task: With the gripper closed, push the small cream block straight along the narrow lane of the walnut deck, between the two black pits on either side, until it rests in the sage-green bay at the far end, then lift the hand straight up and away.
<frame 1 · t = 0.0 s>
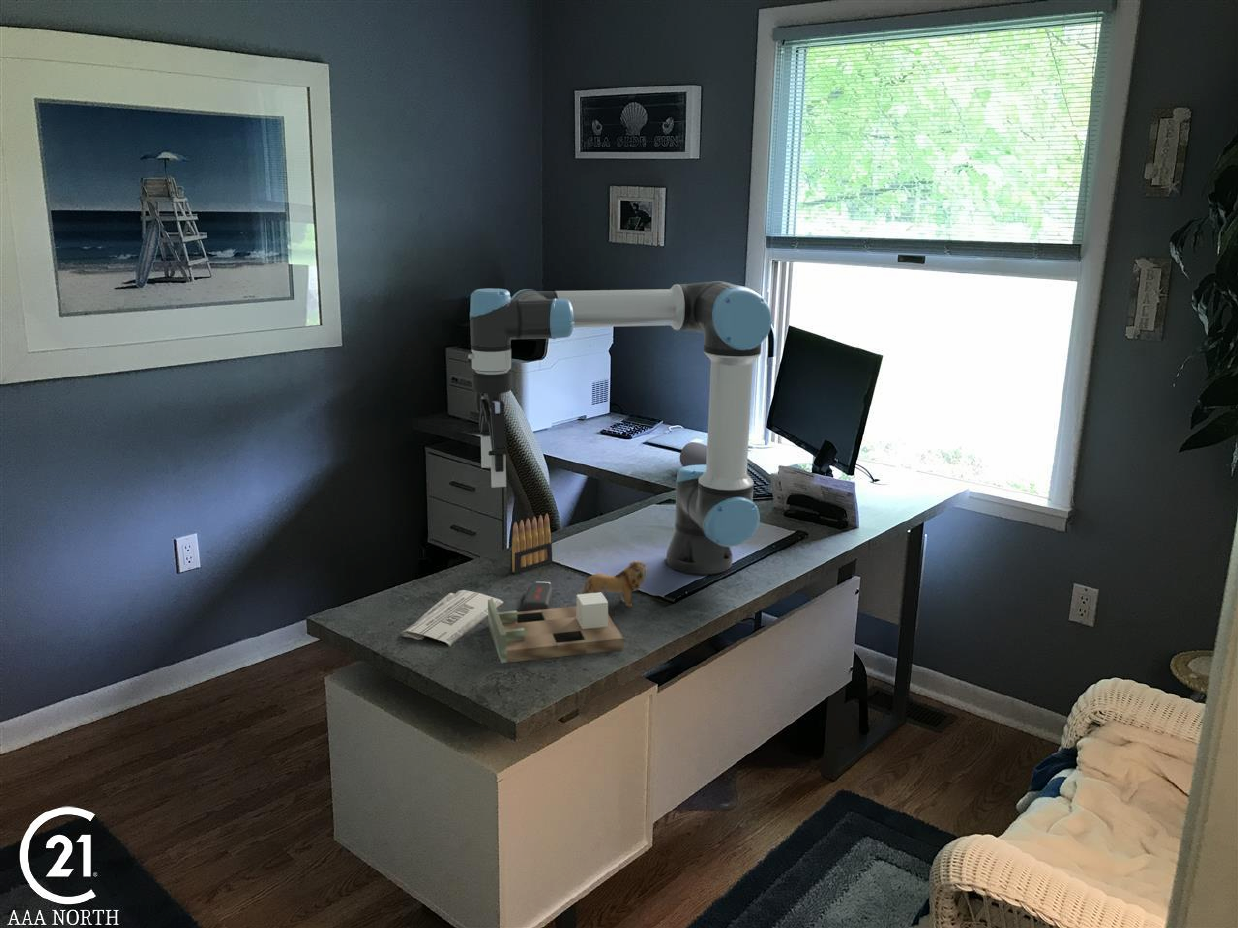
hand: (493, 476, 200), 28 cm above the table, tool pointing down, fingers open, 13 cm apart
cream block: (591, 622, 196), point 2 cm above the table, touching trap deck
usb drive: (539, 602, 212), on the table
trap deck: (554, 637, 195), on the table
ammunition clip: (531, 568, 229), on the table
grey long tapered piece: (712, 483, 293), on the table
lion figurine: (613, 603, 211), on the table
newspaper: (449, 623, 202), on the table
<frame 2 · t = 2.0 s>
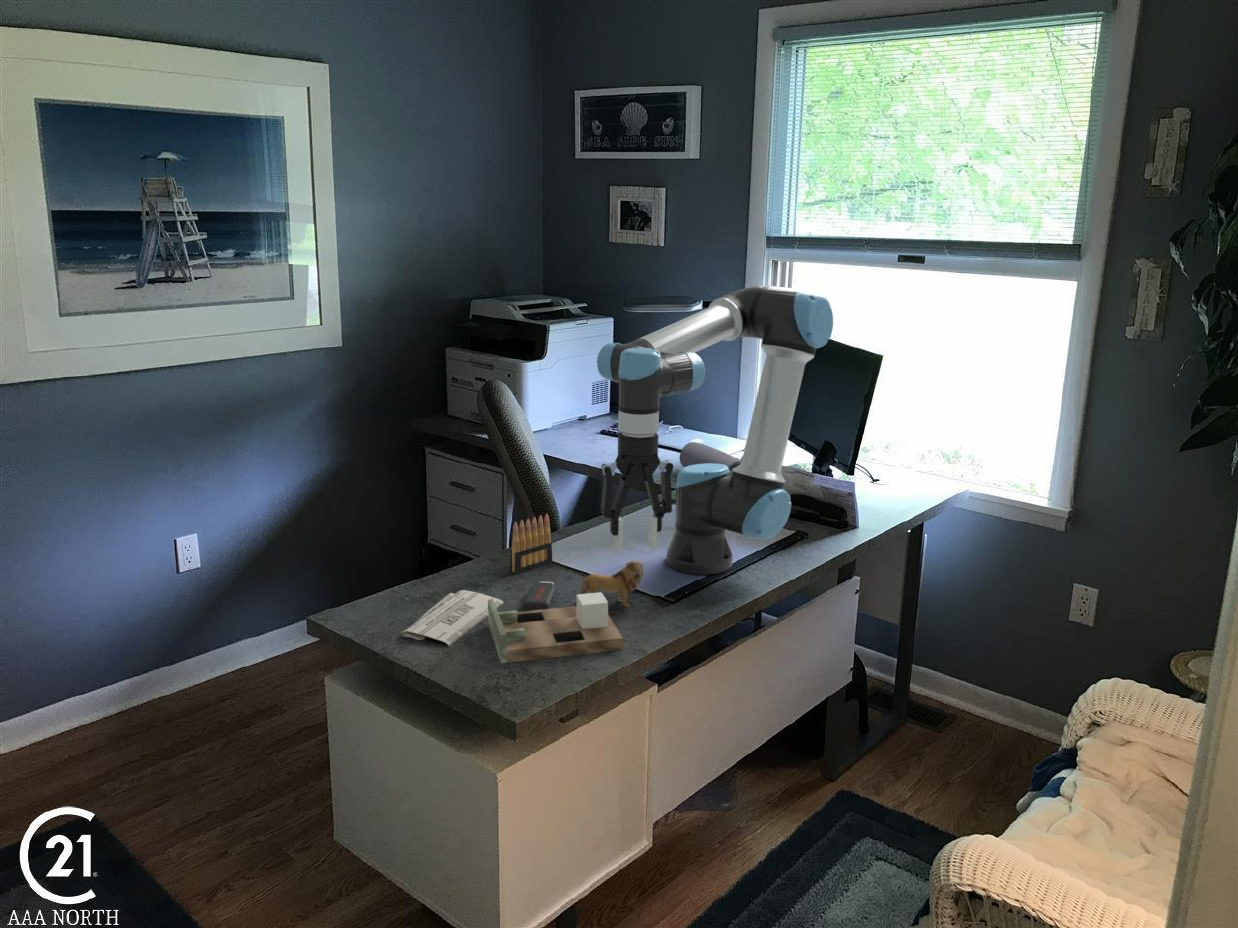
hand: (635, 548, 194), 17 cm above the table, tool pointing down, fingers open, 6 cm apart
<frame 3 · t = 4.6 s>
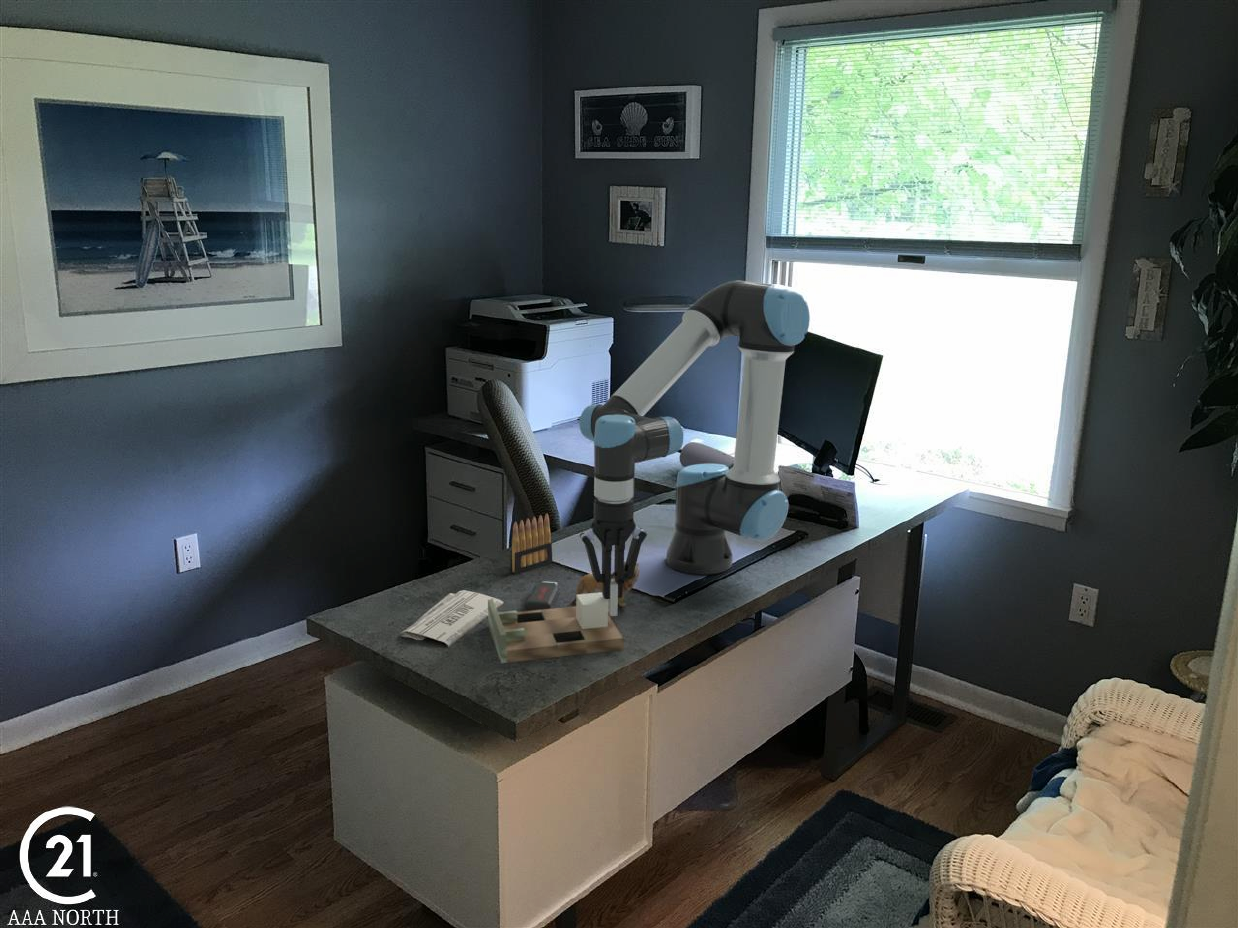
hand: (612, 612, 196), 4 cm above the table, tool pointing down, fingers closed
cream block: (591, 622, 196), point 2 cm above the table, touching gripper, trap deck
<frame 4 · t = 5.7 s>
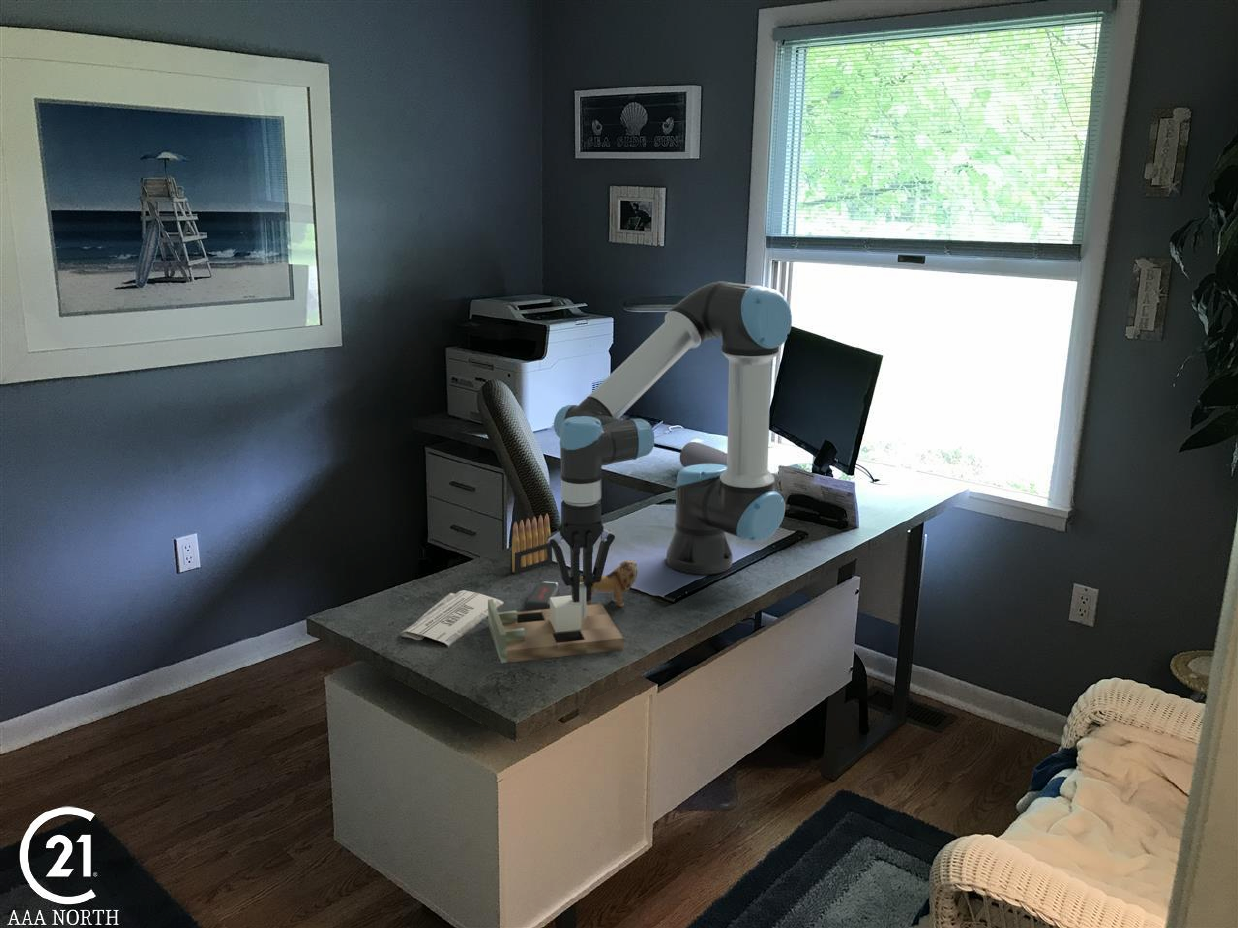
hand: (581, 616, 195), 4 cm above the table, tool pointing down, fingers closed
cream block: (565, 625, 194), point 2 cm above the table, touching gripper, trap deck
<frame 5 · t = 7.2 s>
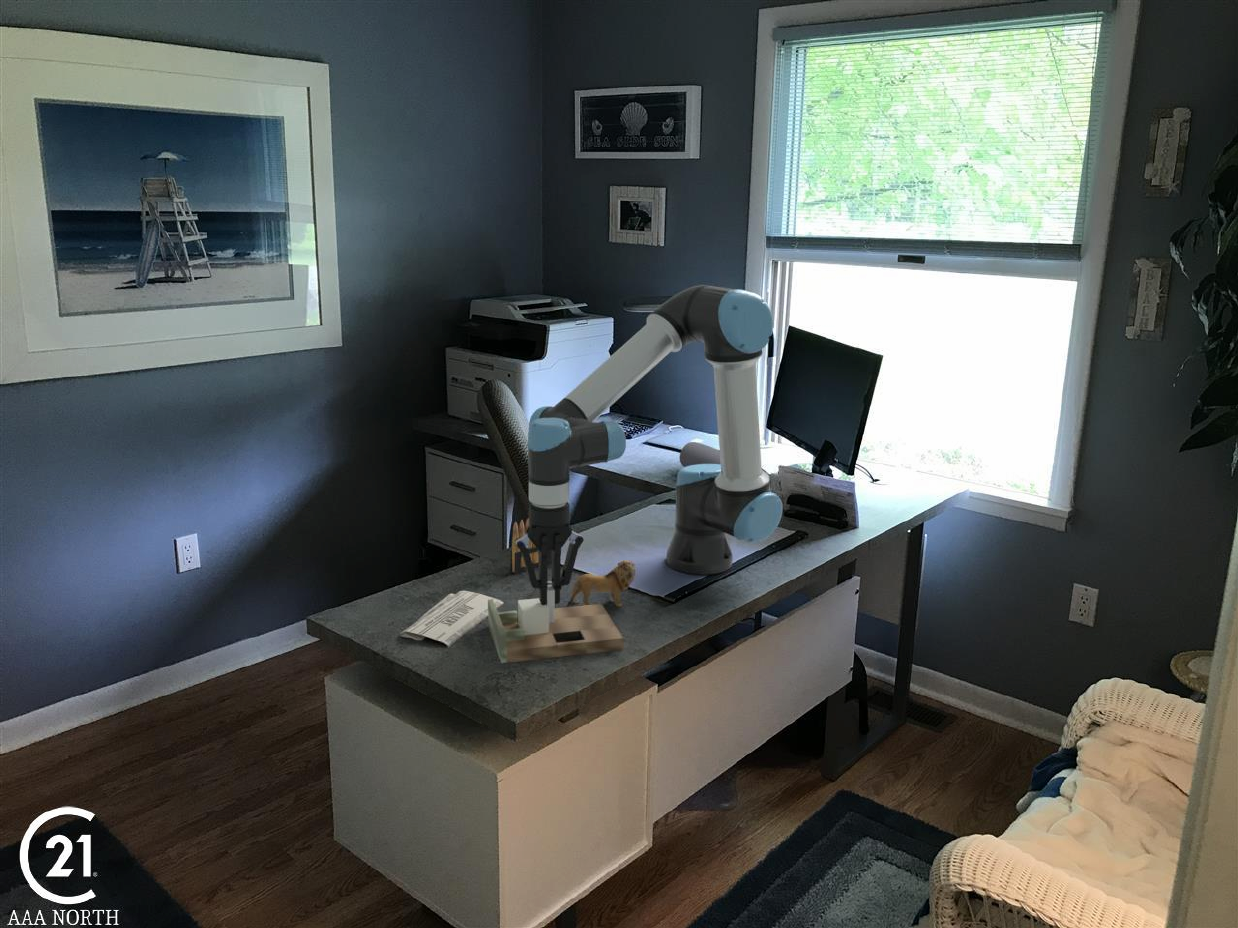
hand: (549, 619, 193), 4 cm above the table, tool pointing down, fingers closed
cream block: (533, 628, 193), point 2 cm above the table, touching gripper
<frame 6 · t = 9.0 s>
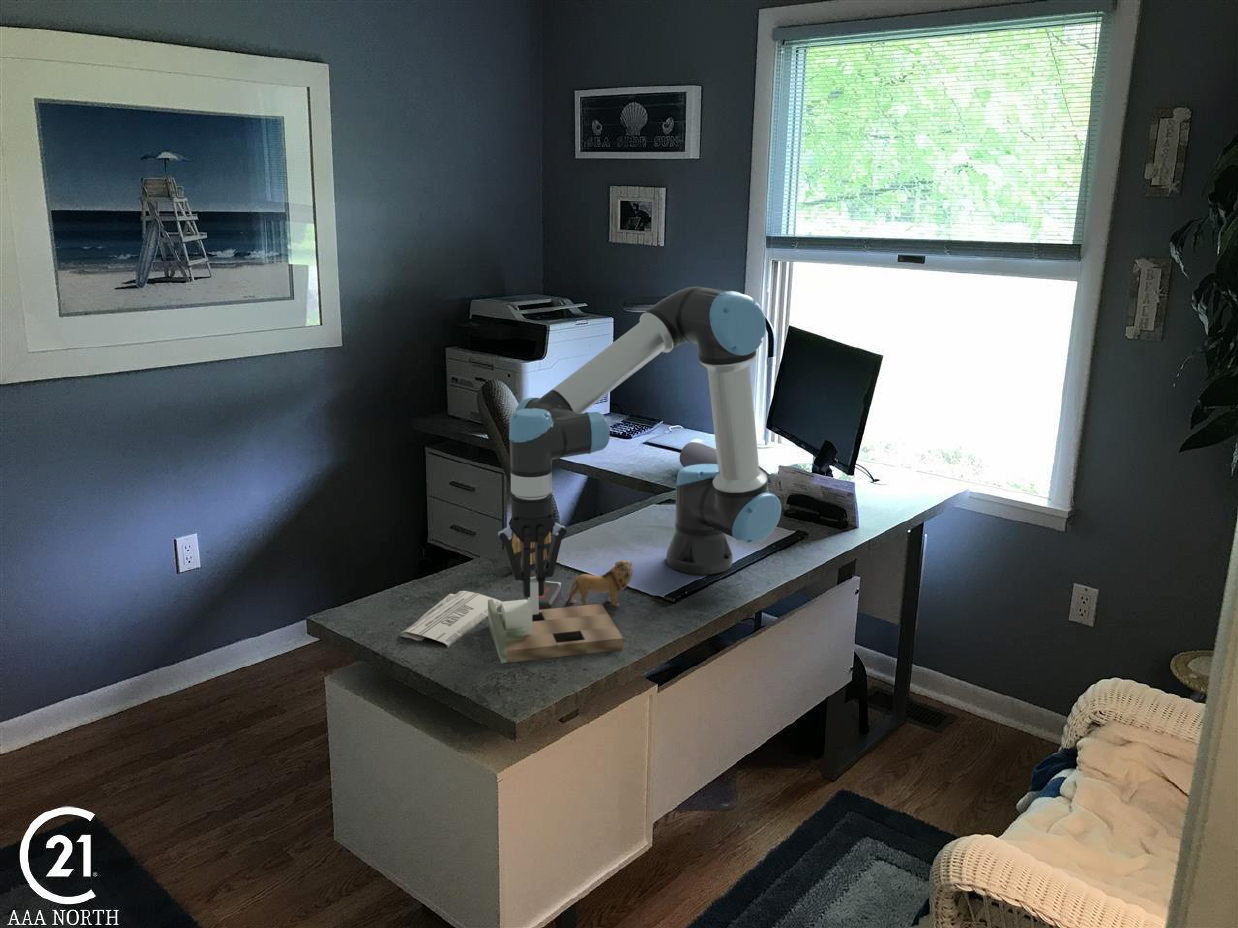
hand: (533, 611, 192), 6 cm above the table, tool pointing down, fingers closed
cream block: (516, 629, 192), point 2 cm above the table, touching trap deck
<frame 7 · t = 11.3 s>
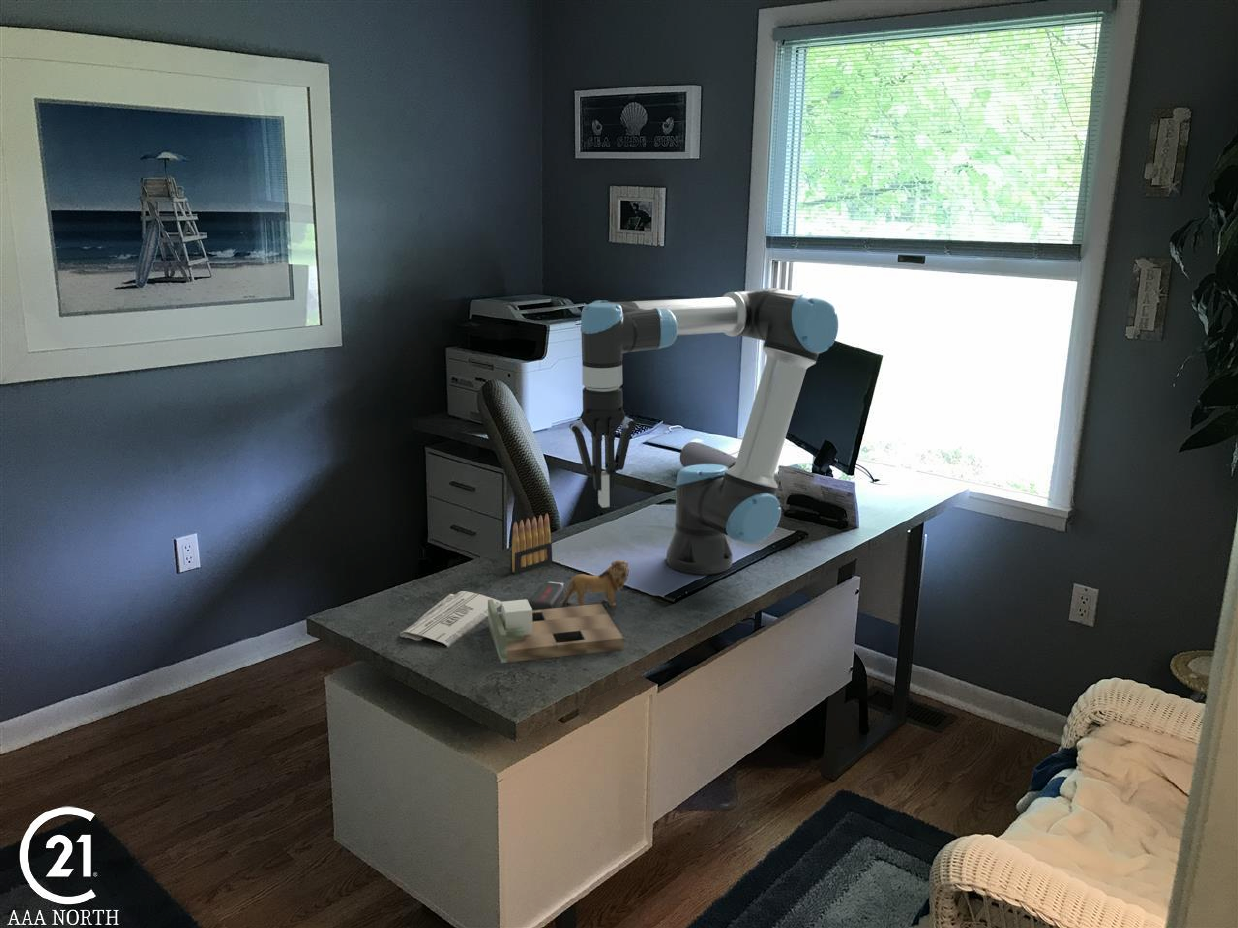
hand: (603, 504, 197), 24 cm above the table, tool pointing down, fingers closed
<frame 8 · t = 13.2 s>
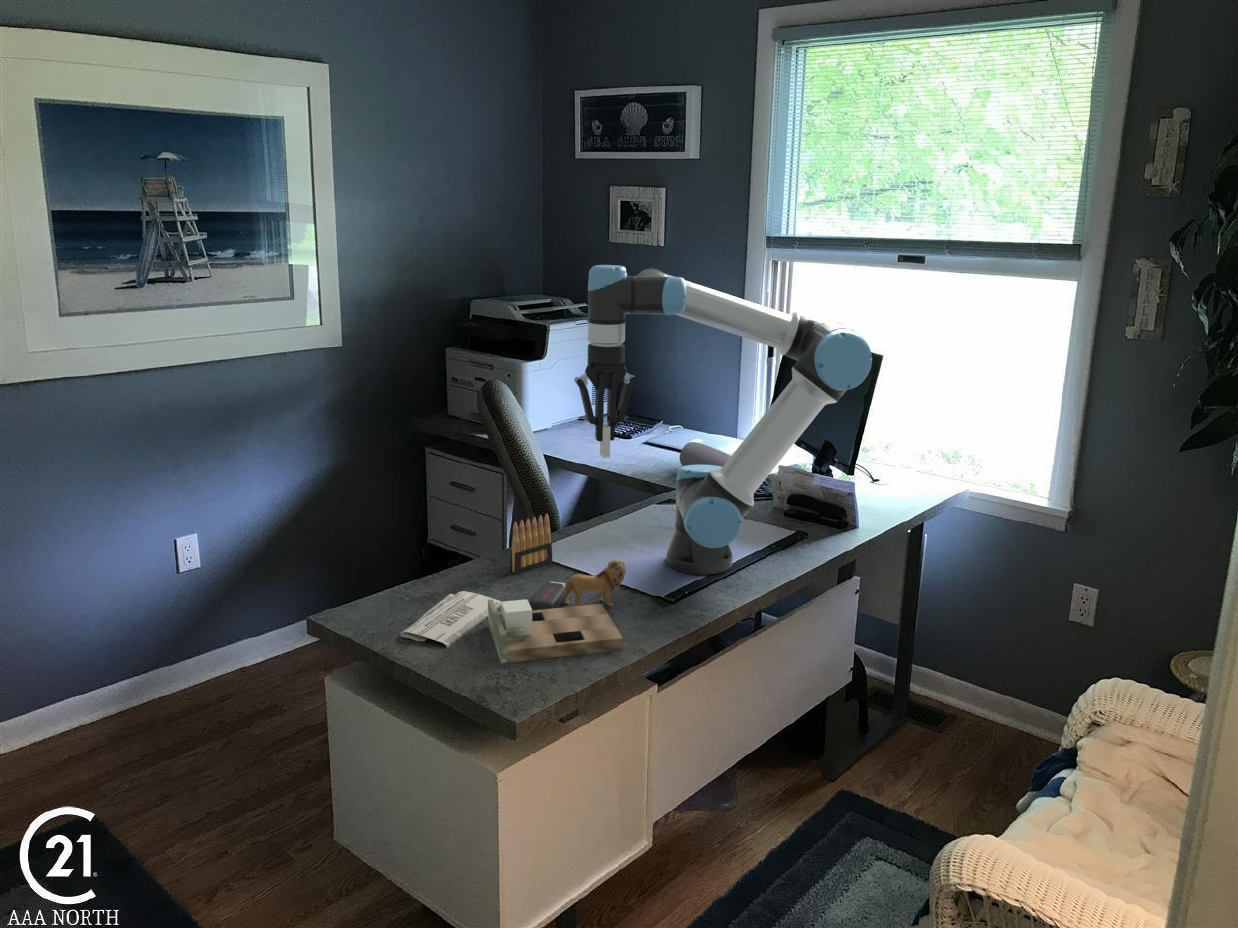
hand: (604, 455, 211), 29 cm above the table, tool pointing down, fingers closed
at the end: cream block 0.8 cm from the target spot, point 2.4 cm above the table; cream block tilted 0° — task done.
